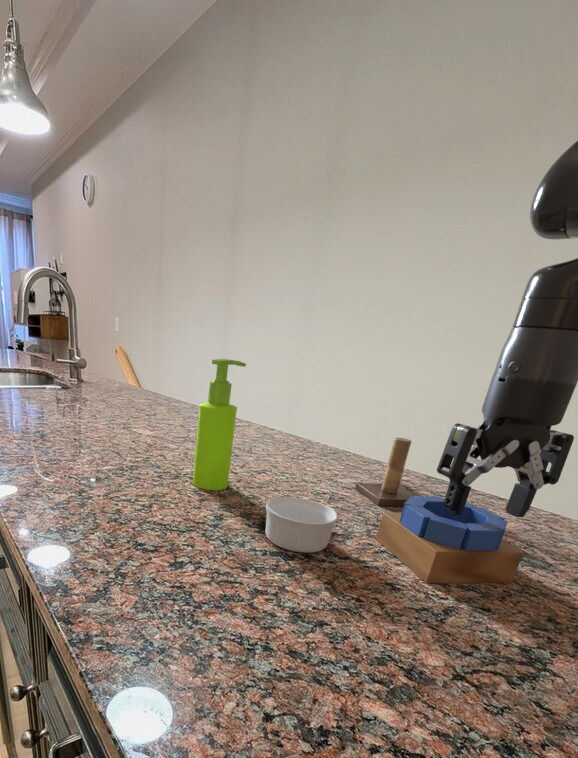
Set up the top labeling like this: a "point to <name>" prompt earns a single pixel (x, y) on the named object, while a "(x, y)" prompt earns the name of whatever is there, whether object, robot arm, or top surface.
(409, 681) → the top surface
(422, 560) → the platform
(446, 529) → the ring
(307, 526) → the ramekin
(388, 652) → the top surface
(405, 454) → the post
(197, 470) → the soap dispenser
